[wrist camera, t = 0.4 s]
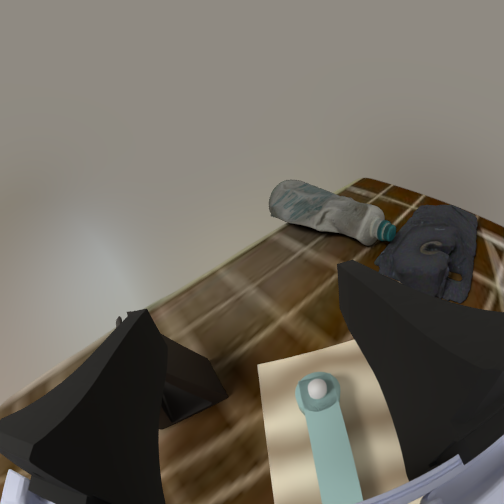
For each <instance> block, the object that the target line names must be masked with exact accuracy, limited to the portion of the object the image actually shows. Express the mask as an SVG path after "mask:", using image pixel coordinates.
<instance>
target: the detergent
mask: <svg viewBox="0 0 504 504" xmlns="http://www.w3.org/2000/svg"><path fill="white" fill-rule="evenodd" d="M269 210H270V212H271V216H273V217H276V218H279V219H281V220H283V221H285V222H288V223H293V224H298V225H303V226H308V227H311V228H313V229H316V230H318V231H321V232H322V231H328V232H335V233H342V234H345V235H347V236H350V237H353V238H355V239H357V240H358V241H360V242H361V243H362V244H364V245H367V246H369V245H372V244H373V243H374V242H375V241H376V240H377V239H378V240H380V241H392V240H393V239H394V237H395V234H396V227H395V226H394V225H392V224H391V223H390V222H389V221H387V220H384V214H383V212H382V210H381V209H380V208H378V207H377V206H374V205H370V204H364V203H359V202H356V201H354V200H353V199H352V198H347V197H344V196H339V195H336V194H334V193H331V192H329V191H326V190H323V189H321V188H318V187H316V186H313V185H310V184H308V183H305V182H303V181H298V180H286V181H283V182H281V183H279V185H277V186H276V187H275V188H274V190H273V191H272V193H271V196H270V199H269Z"/></svg>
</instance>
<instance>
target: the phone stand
mask: <svg viewBox="0 0 504 504" xmlns="http://www.w3.org/2000/svg"><path fill="white" fill-rule="evenodd" d="M131 313H132V312H127V314H128V316H129V315H130V314H131ZM121 323H122V319H121V317H120V316H119V317H118V319H117V321H116V328H117V327H118V326H119V325H120V324H121ZM161 336H162V337H163V339H164V341H165V343H166V344H167V346H168V359H167V372H166V379H165V385H164V391H163V397H162V403H161V409H160V416H159V429H164V428H167V427H169V426H171V425H173V424H176V423H178V422H180V421H182V420H184V419H187V418H189V417H191V416H192V415H193V414H197V413H199V412H201V411H203V410H205V409H207V408H209V407H211V406H213V405H215V404H217V403H219V402H221V401H223V400H225V399H226V398H228V395H227V394H226V392H225V390H224V388H223V386H222V385H221V383H220V381H219V379H218V377H217V375H216V374H215V372H214V370H213V368H212V366H211V364H210V362H209V360H208V359H207V358H205V357H203V356H201V355H199V354H197V353H195V352H193V351H192V350H190V349H188V348H186V347H184V346H182V345H180V344H178V343H176V342H175V341H173V340H171V339H169V338H167V337H166V336H164V335H162V334H161Z"/></svg>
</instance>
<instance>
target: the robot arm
mask: <svg viewBox="0 0 504 504" xmlns="http://www.w3.org/2000/svg"><path fill="white" fill-rule="evenodd" d="M337 269H338V283H339V302H340V310H341V312H342V315H343V317H344V319H345V322H346V324H347V326H348V329H349V331H350V332H351V334H352V336H353V338H354V339H355V341H356V343H357V345H358V346H359V348H360V350H361V352H362V353H363V355H364V357H365V358H366V360H367V362H368V364H369V366H370V367H371V369H372V371H373V373H374V375H375V377H376V379H377V381H378V383H379V385H380V388H381V390H382V393H383V395H384V398H385V400H386V403H387V406H388V409H389V412H390V415H391V417H392V420H393V423H394V427H395V430H396V433H397V437H398V440H399V444H400V448H401V452H402V456H403V461H404V465H405V470H406V475H407V477H408V480H409V482H408V483H406V484H403V485H401V486H399V487H397V488H394V489H392V490H390V491H387V492H385V493H383V494H380V495H378V496H375V497H372V498H370V499H367V500H364V501H361V502H358V503H355V504H408V503H410V502H412V501H414V500H416V499H418V498H420V497H422V496H423V498H422V499H421V501H420V504H504V312H495V311H488V310H482V309H476V308H471V307H467V306H463V305H459V304H455V303H451V302H448V301H445V300H442V299H439V298H436V297H433V296H430V295H427V294H424V293H422V292H419V291H417V290H415V289H412V288H410V287H408V286H405V285H403V284H401V283H399V282H397V281H395V280H392V279H390V278H388V277H386V276H384V275H382V274H380V273H378V272H376V271H374V270H372V269H370V268H369V267H367V266H365V265H362V264H360V263H358V262H356V261H354V260H351V261H347V262H343V263H340V264H337ZM167 359H168V346H167V344H166V343H165V341H164V339H163V337H162V336H161V334H160V332H159V330H158V328H157V327H156V325H155V323H154V321H153V319H152V317H151V316H150V314H149V312H148V310H147V309H143V310H138V311H133V312H132V313H131V314H130V315H129V316H128V317H127V318H126V319H125V320H124V321H123V322H122V323H121V324H120V325H119V326H118V327H117V328H116V329H115V330H114V331H113V332H112V333H111V334H110V335H109V337H108V338H107V339H106V340H105V341H104V342H103V343H102V344H101V345H100V346H99V347H98V348H97V349H96V350H95V352H94V353H93V354H92V355H91V356H90V357H89V358H88V359H87V360H86V361H85V362H84V363H83V364H82V365H81V366H80V367H79V368H78V369H77V370H76V371H74V372H73V373H72V374H71V375H70V376H69V377H68V378H66V379H65V380H64V381H63V382H62V383H60V384H59V385H58V386H56V387H55V388H54V389H52V390H51V391H50V392H48V393H47V394H46V395H44V396H43V397H41V398H40V399H38V400H37V401H35V402H34V403H32V404H30V405H28V406H27V407H25V408H23V409H21V410H19V411H17V412H15V413H13V414H11V415H9V416H7V417H4V418H2V419H1V420H0V453H1V454H2V455H4V456H5V457H6V458H7V459H9V460H10V461H12V462H13V463H14V464H16V465H17V466H19V467H20V468H22V469H23V470H25V471H26V472H28V473H29V474H31V475H32V476H31V480H29V479H27V478H26V477H24V476H22V475H20V474H18V473H16V472H15V471H13V470H11V469H9V470H8V474H7V477H6V481H5V485H4V489H3V494H2V498H1V503H0V504H165V499H164V494H163V489H162V482H161V474H160V465H159V446H158V431H159V416H160V409H161V403H162V397H163V391H164V385H165V379H166V372H167ZM424 495H425V496H424Z"/></svg>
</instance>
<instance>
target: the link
mask: <svg viewBox="0 0 504 504" xmlns="http://www.w3.org/2000/svg"><path fill="white" fill-rule="evenodd" d="M295 397H296V400H297V403H298V406H299V409H300V411H301V412H302V413H303V414H304V415H305V417H306V422H307V427H308V432H309V437H310V442H311V447H312V452H313V458H314V463H315V468H316V473H317V479H318V484H319V489H320V495H321V500H322V504H355V503H358V502H361V501H363V497H362V493H361V488H360V484H359V479H358V475H357V471H356V467H355V463H354V458H353V454H352V450H351V446H350V442H349V439H348V435H347V431H346V427H345V423H344V420H343V416H342V412H341V409H340V405H339V403H340V384H339V382H338V380H337V379H336V378H335V377H334V376H333V375H331V373H326V372H314V373H311V374H308V375H306V376H305V377H303V378H302V379H301V380H300V381H298V384H297V386H296V390H295Z"/></svg>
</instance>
